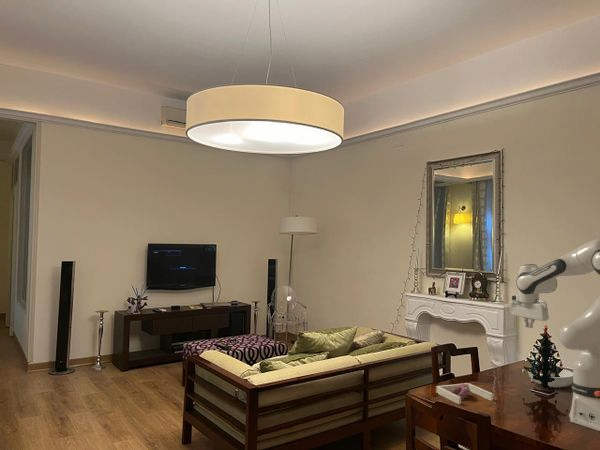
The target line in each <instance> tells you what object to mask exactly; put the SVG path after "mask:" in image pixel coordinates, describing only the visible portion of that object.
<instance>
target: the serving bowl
mask: <svg viewBox="0 0 600 450" xmlns="http://www.w3.org/2000/svg"><path fill="white" fill-rule="evenodd" d="M562 369H563V370H562V371H561V372H560V373H559V376H560V377H551V378H554V379H555V380H554V381H552V382H548V386H549V387H548V388H552V387H553V389H557V388H564V387H565V388H566V387H569V386H570V385H572V382H573V371H571V370H568V369H564V368H562ZM527 373H528V376H529V378H530V379H531V380H532V381H533V382H534V383H536V384H538V385H541V381H539V380H534V379H533V374H532V373H531V372H529V371H528V370H527Z"/></svg>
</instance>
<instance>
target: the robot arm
mask: <svg viewBox="0 0 600 450" xmlns="http://www.w3.org/2000/svg"><path fill="white" fill-rule="evenodd" d="M594 271H595V272H596V274H598V275H599V276H600V238H595V239H593V240H590V241H588V242H585V243H583V244H582V245H580V246H578V247H576V248H574V249H572V250H571V251H569V252H568V253H566V254H564V255H562V256H560V257H558V258H557V259H554V260H553V261H551V262H548V263H546V264H544V265H542V266H538V265H537V264H534V263H531V264H523V265H521V266H520V267H519V270H518V276H517V278H516V281H515V283H516V287H517V290H518V293H516V294H513V295H510V300H511V301H510V302H509V311H510V314H511V315H512V316H514V317H515V316H517V317H521V318H522V320H523V322H524V326H525V328H528V329H533V327H534V323H535V321H541V322H546V321H549V318H550V317H549V310H548V309H549V308H548V304H547V303H546V301H545V300H543V299H540V294H551V293H554V291H556V289H557V287H558V280H557V278H559V277H565V276H566V277H567V276H568V277H569V276H571V277H573V276H583V275H586V274H590V273H591V272H594ZM558 338H559V341H560V343H561V344H562V346H563V347H564V348H565V349H568V350H570V351H577V352H578V355H577V357H576V358H575V360H573V363H572V372H573V382H572V383H571V391H572V401H571V406H570V407H571V408H570V412H569V414H568V417H569V421H570V422H571V423H574V424H577V425H580V426H582V427H586V428H589V429H592V430H595V431H597V432H600V295H599V296H598V297H597V298H596V300H595V301H594V302H593V303H592V304H591V305H590V306H589V308H587V309H586V310H585V311H584V312H582V313H581V314H580V315H579V316H578V317H575V319H574V320H573V321H571V322H569V323H568V324H566V325H563V326H562V327H561V328H560V329H559V332H558Z"/></svg>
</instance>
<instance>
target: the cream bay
mask: <svg viewBox="0 0 600 450" xmlns="http://www.w3.org/2000/svg"><path fill="white" fill-rule="evenodd" d="M460 384H461V383H456V384H445V385H436V386H435V393H436V394H437V393H438V395H440V396H442V397H443V398H445V399H447V400H450V401H451V402H454V403H455V404H457V405H462V399H461V397H459V396H457V395H458V394H454V393H453V390H454V389H455V388H456V387H458V386H459V385H460ZM462 384H466V385H467V386H468V389H469V392H471V393H473V394H475V395H478V396H479V397H482V398H484V399H485V400H488V401H494V393H492V392H490V391H489V390H485V389H484V388H481V387H479V386H477V385H475V384H474V385H473V384H472V383H469V382H465V383H462Z"/></svg>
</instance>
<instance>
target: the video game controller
mask: <svg viewBox="0 0 600 450" xmlns="http://www.w3.org/2000/svg"><path fill="white" fill-rule="evenodd" d="M459 384H460V385H459V386H458V387H456V388H455V389H454V390H453V392H452V393H453V394H455V395H457V396H459V397H461V400H463V399H465V397H468V395H470V391H469V389H468V386H467V385H466V384H463V383H462V382H461V383H459Z"/></svg>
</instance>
